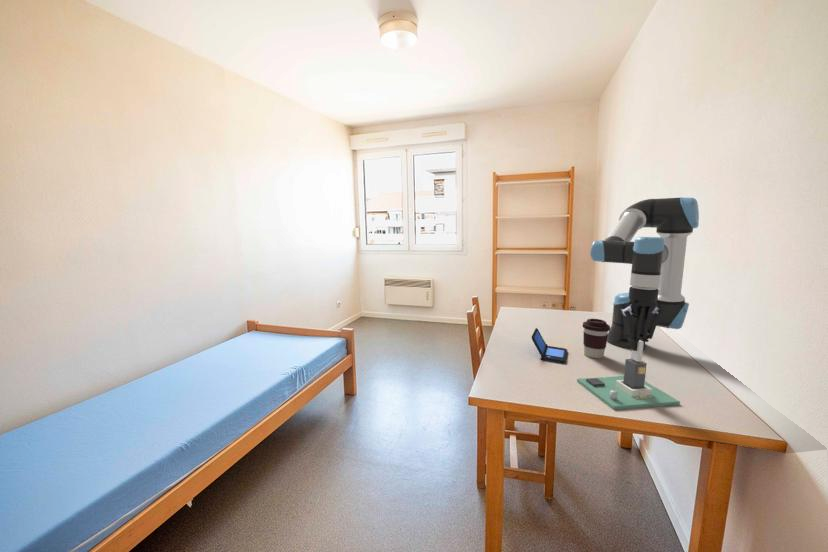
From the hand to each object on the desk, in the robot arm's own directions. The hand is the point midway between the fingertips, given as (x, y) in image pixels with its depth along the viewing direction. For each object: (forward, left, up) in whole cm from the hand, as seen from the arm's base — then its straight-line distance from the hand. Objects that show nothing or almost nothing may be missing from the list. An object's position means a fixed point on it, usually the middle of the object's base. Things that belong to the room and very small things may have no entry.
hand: (636, 359), depth 108 cm
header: (0, 0, -11) cm, 11 cm away
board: (+2, -1, -12) cm, 12 cm away
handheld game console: (+10, -35, -12) cm, 38 cm away
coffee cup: (-8, -31, -12) cm, 34 cm away
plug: (0, 0, -11) cm, 11 cm away
